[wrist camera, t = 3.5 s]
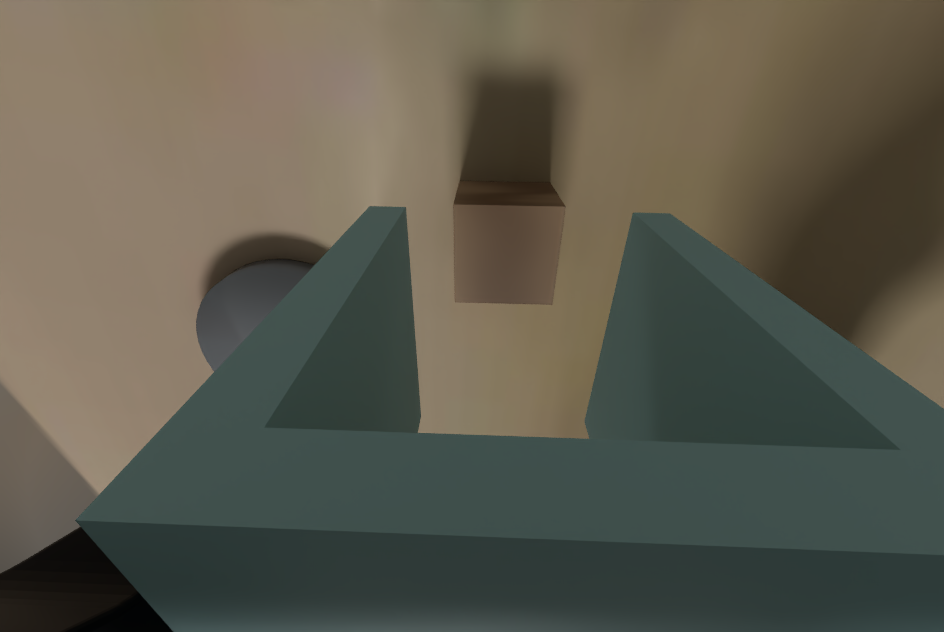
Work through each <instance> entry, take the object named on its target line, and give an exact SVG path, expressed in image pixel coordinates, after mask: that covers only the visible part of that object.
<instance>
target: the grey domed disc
mask: <svg viewBox="0 0 944 632" xmlns="http://www.w3.org/2000/svg"><path fill="white" fill-rule="evenodd" d="M313 266H314V265H312V264H309V263H304V262H300V261H295V260H285V259H271V260H263V261H257V262H253V263H250V264H247V265H245V266H243V267H241V268H239V269H237V270H235V271H234V272H232V273H231V274H230V275H228V276H227V277H225V278H224V279H223V280H221V281H220V282H219V283H217V284H216V285H215V286H213V287H212V288H211V290H210V291H209V292H208V293H207V294H206V295H205V297H204V299H203V300H202V302H201V304H200V307H199V310H198V314H197V320H196V329H197V336H198V341H199V344H200V347H201V350H202V352H203V354H204V356H205V358H206V360H207V362H208V363H209V365H210V366H211V368H212V369H213V371H214V372H215V371H216V370H217V369H218V368H219V367H220V366H221V364H222V363H223V362H224V361H225V360H226V359H227V358H228V357H229V356H230V355H231V354H232V353H233V352H234V351H235V350H236V348H237V347H238V346H239V345H240V344H241V343H242V342H243V341H244V340H245V339H246V338H247V337H248V336H249V335H250V334H251V332H252V331H253V330H254V329H255V328H256V327H257V326H258V325H259V324H260V323H261V322H262V321H263V320H264V319H265V318H266V316H267V315H268V314H269V313H270V312H271V311H272V310H273V309H274V308H275V307H276V306H277V305H278V304H279V303H280V302H281V300H282V299H283V298H284V297H285V296H286V295H287V294H288V293H289V292H290V291H291V290H292V289H293V288H294V287H295V286H296V284H297V283H298V282H299V281H300V280H301V279H302V278H303V277H304V276H305V275H306V274H307V273H308V272H309V271H310V270H311V268H312V267H313Z"/></svg>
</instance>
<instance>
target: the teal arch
mask: <svg viewBox="0 0 944 632" xmlns="http://www.w3.org/2000/svg"><path fill="white" fill-rule="evenodd" d="M420 418H421V410H420V396H419V383H418V369H417V355H416V341H415V328H414V314H413V300H412V286H411V272H410V259H409V245H408V231H407V217H406V207H379V206H370V207H369V208H368V209H367V210H366V211H365V212H364V213H363V214H362V215H361V216H360V217H359V218H358V219H357V220H356V222H355V223H354V224H353V225H352V226H351V227H350V228H349V229H348V230H347V231H346V232H345V233H344V234H343V235H342V236H341V238H340V239H339V240H338V241H337V242H336V243H335V244H334V245H333V246H332V247H331V248H330V249H329V250H328V251H327V252H326V254H325V255H324V256H323V257H322V258H321V259H320V260H319V261H318V262H317V263H316V264H315V265H314V266H313V267H312V268H311V270H310V271H309V272H308V273H307V274H306V275H305V276H304V277H303V278H302V279H301V280H300V281H299V282H298V283H297V284H296V286H295V287H294V288H293V289H292V290H291V291H290V292H289V293H288V294H287V295H286V296H285V297H284V298H283V299H282V300H281V302H280V303H279V304H278V305H277V306H276V307H275V308H274V309H273V310H272V311H271V312H270V313H269V314H268V315H267V316H266V318H265V319H264V320H263V321H262V322H261V323H260V324H259V325H258V326H257V327H256V328H255V329H254V330H253V331H252V332H251V334H250V335H249V336H248V337H247V338H246V339H245V340H244V341H243V342H242V343H241V344H240V345H239V346H238V347H237V348H236V350H235V351H234V352H233V353H232V354H231V355H230V356H229V357H228V358H227V359H226V360H225V361H224V362H223V363H222V364H221V366H220V367H219V368H218V369H217V370H216V371H215V372H214V373H213V374H212V375H211V376H210V377H209V378H208V379H207V380H206V382H205V383H204V384H203V385H202V386H201V387H200V388H199V389H198V390H197V391H196V392H195V393H194V394H193V395H192V396H191V398H190V399H189V400H188V401H187V402H186V403H185V404H184V405H183V406H182V407H181V408H180V409H179V410H178V411H177V412H176V414H175V415H174V416H173V417H172V418H171V419H170V420H169V421H168V422H167V423H166V424H165V425H164V426H163V427H162V428H161V430H160V431H159V432H158V433H157V434H156V435H155V436H154V437H153V438H152V439H151V440H150V441H149V442H148V443H147V444H146V446H145V447H144V448H143V449H142V450H141V451H140V452H139V453H138V454H137V455H136V456H135V457H134V458H133V459H132V460H131V462H130V463H129V464H128V465H127V466H126V467H125V468H124V469H123V470H122V471H121V472H120V473H119V474H118V475H117V476H116V477H115V479H114V480H113V481H112V482H111V483H110V484H109V485H108V486H107V487H106V488H105V489H104V490H103V491H102V492H101V493H100V495H99V496H98V497H97V498H96V499H95V500H94V501H93V502H92V503H91V504H90V505H89V506H88V507H87V509H85V511H84V512H83V513H82V514H81V515H80V516H79V517H78V518H77V519H76V520H75V521H76V522H77V523H78V524H79V525H80V526H81V527H82V529H83V530H84V531H85V532H86V533H87V534H88V535H89V536H90V538H91V539H92V540H93V541H94V542H95V543H96V544H97V546H98V547H99V548H100V549H101V550H102V551H103V552H104V554H105V555H106V556H107V557H108V558H109V559H110V560H111V561H112V563H113V564H114V565H115V566H116V567H117V568H118V569H119V571H120V572H121V573H122V574H123V575H124V576H125V577H126V578H127V580H128V581H129V582H130V583H131V584H132V585H133V586H134V588H135V589H136V590H137V591H138V592H139V593H140V594H141V595H142V597H143V598H144V599H145V600H146V601H147V602H148V603H149V605H150V606H151V607H152V608H153V609H154V610H155V611H156V613H157V614H158V615H159V616H160V617H161V618H162V619H163V620H164V622H165V623H166V624H167V625H168V626H169V627H170V628H171V630H172V631H173V632H944V409H943V408H942V407H940V406H939V405H937V404H936V403H935V402H933V401H932V400H930V399H929V398H928V397H926V396H925V395H923V394H922V393H921V392H919V391H918V390H916V389H915V388H914V387H912V386H911V385H909V384H908V383H907V382H905V381H904V380H902V379H901V378H900V377H898V376H897V375H895V374H894V373H893V372H891V371H890V370H888V369H887V368H886V367H884V366H883V365H881V364H880V363H879V362H877V361H876V360H874V359H873V358H872V357H870V356H869V355H867V354H866V353H865V352H863V351H862V350H860V349H859V348H858V347H856V346H855V345H853V344H852V343H851V342H849V341H848V340H846V339H845V338H844V337H842V336H841V335H839V334H838V333H837V332H835V331H834V330H832V329H831V328H830V327H828V326H827V325H825V324H824V323H823V322H821V321H820V320H818V319H817V318H816V317H814V316H813V315H811V314H810V313H809V312H807V311H806V310H804V309H803V308H802V307H800V306H799V305H797V304H796V303H794V302H793V301H792V300H790V299H789V298H787V297H786V296H785V295H783V294H782V293H780V292H779V291H778V290H776V289H775V288H773V287H772V286H771V285H769V284H768V283H766V282H765V281H764V280H762V279H761V278H759V277H758V276H757V275H755V274H754V273H752V272H751V271H750V270H748V269H747V268H745V267H744V266H743V265H741V264H740V263H738V262H737V261H736V260H734V259H733V258H731V257H730V256H729V255H727V254H726V253H724V252H723V251H722V250H720V249H719V248H717V247H716V246H715V245H713V244H712V243H710V242H709V241H708V240H706V239H705V238H703V237H702V236H701V235H699V234H698V233H696V232H695V231H694V230H692V229H691V228H689V227H688V226H687V225H685V224H684V223H682V222H681V221H680V220H678V219H677V218H675V217H674V216H673V215H671V214H666V213H633V215H632V219H631V224H630V228H629V232H628V237H627V241H626V245H625V250H624V254H623V258H622V263H621V267H620V271H619V275H618V280H617V284H616V288H615V293H614V297H613V301H612V306H611V310H610V314H609V319H608V323H607V327H606V331H605V336H604V340H603V344H602V349H601V353H600V357H599V362H598V366H597V370H596V374H595V379H594V383H593V387H592V392H591V396H590V400H589V405H588V409H587V413H586V418H585V425H586V428H587V432H588V435H589V438H590V439H575V438H547V437H518V436H490V435H461V434H433V433H418V428H419V423H420Z"/></svg>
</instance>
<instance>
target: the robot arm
mask: <svg viewBox="0 0 944 632" xmlns="http://www.w3.org/2000/svg"><path fill="white" fill-rule="evenodd" d="M0 632H173V631H172V630H171V628H170V627H169V626H168V625H167V624H166V623H165V622H164V620H163V619H162V618H161V617H160V616H159V615H158V614H157V613H156V611H155V610H154V609H153V608H152V607H151V606H150V605H149V603H148V602H147V601H146V600H145V599H144V598H143V597H142V595H141V594H140V593H139V592H138V591H137V590H136V589H135V588H134V586H133V585H132V584H131V583H130V582H129V581H128V580H127V578H126V577H125V576H124V575H123V574H122V573H121V572H120V571H119V569H118V568H117V567H116V566H115V565H114V564H113V563H112V561H111V560H110V559H109V558H108V557H107V556H106V555H105V554H104V552H103V551H102V550H101V549H100V548H99V547H98V546H97V544H96V543H95V542H94V541H93V540H92V539H91V538H90V536H89V535H88V534H87V533H86V532H85V531H84V530H83V529H82V527H79V528H78V529H76V530H74V531H73V532H71V533H69V534H68V535H66V536H64V537H63V538H61V539H59V540H58V541H56V542H54V543H53V544H51V545H49V546H48V547H46V548H44V549H43V550H41V551H39V552H38V553H36V554H34V555H33V556H31V557H29V558H28V559H26V560H24V561H22V562H21V563H19V564H17V565H15V566H14V567H12V568H10V569H8V570H6V571H4V572H2V573H0Z"/></svg>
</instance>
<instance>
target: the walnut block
mask: <svg viewBox="0 0 944 632" xmlns="http://www.w3.org/2000/svg"><path fill="white" fill-rule="evenodd" d="M565 208H566V207H565V205H564V203H563V202H562V200H561V199H560V197H559V196H558V194H557V192H556V191H555V189H554V188H553V186H552V185H551V183H550V182H498V181H460V182H459V186H458V189H457V193H456V197H455V201H454V204H453V209H454V284H455V302H466V303H506V304H546V305H552V303H553V296H554V289H555V281H556V274H557V267H558V259H559V252H560V245H561V237H562V230H563V222H564V215H565Z"/></svg>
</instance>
